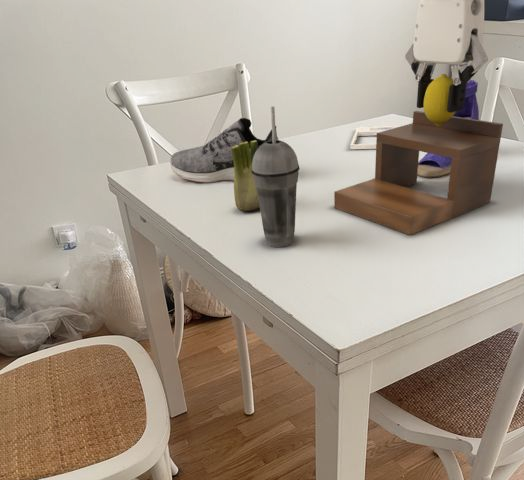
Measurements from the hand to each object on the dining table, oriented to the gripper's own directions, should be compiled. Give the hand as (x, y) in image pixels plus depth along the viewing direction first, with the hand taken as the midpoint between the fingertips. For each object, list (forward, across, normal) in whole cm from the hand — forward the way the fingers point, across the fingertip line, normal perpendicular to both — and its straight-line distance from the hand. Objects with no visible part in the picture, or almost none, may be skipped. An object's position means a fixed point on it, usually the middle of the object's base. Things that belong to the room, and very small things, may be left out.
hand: (439, 107), depth 89 cm
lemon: (+3, 0, 0) cm, 3 cm away
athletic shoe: (+15, +40, +18) cm, 47 cm away
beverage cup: (+15, +4, +31) cm, 35 cm away
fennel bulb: (+15, +20, +26) cm, 36 cm away
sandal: (+15, +11, -18) cm, 26 cm away
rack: (+15, 0, +5) cm, 16 cm away
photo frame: (+15, +36, -25) cm, 46 cm away
